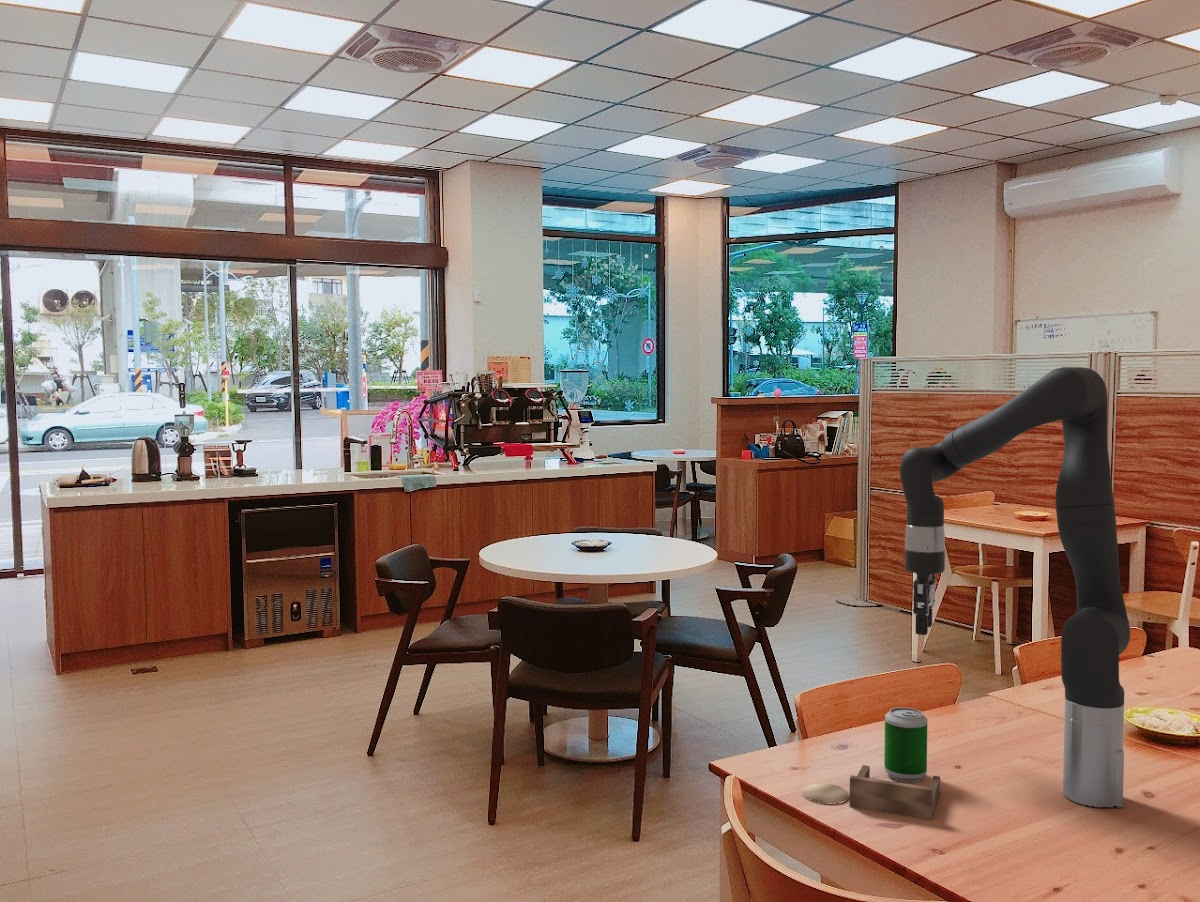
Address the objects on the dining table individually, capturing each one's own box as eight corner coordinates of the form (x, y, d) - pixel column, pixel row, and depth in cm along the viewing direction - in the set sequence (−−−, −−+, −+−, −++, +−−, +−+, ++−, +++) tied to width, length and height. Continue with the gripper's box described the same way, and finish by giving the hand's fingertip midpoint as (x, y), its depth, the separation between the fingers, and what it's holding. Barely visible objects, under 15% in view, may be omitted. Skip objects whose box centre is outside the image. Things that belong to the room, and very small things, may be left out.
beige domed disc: (852, 790, 176) (852, 787, 176) (843, 807, 169) (843, 804, 169) (808, 783, 180) (808, 780, 180) (797, 799, 172) (797, 796, 172)
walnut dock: (939, 793, 175) (940, 765, 175) (931, 820, 164) (931, 790, 164) (862, 781, 181) (863, 754, 180) (849, 806, 169) (849, 777, 169)
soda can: (929, 785, 179) (930, 719, 178) (885, 782, 180) (886, 717, 180) (924, 770, 186) (925, 707, 185) (882, 767, 188) (883, 704, 187)
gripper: (940, 554, 188) (939, 640, 189) (948, 544, 201) (947, 624, 202) (900, 551, 191) (899, 636, 192) (910, 542, 204) (909, 621, 205)
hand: (923, 630), depth 197 cm, fingers open, 7 cm apart
